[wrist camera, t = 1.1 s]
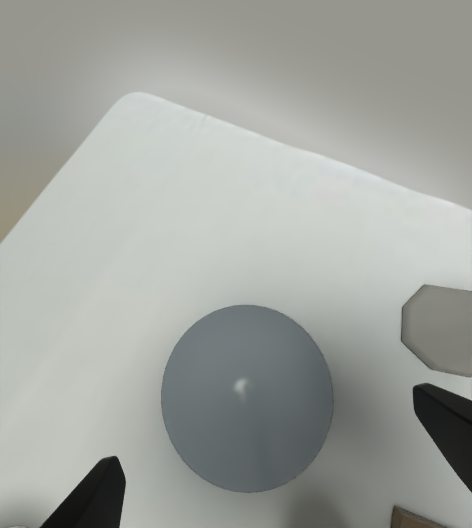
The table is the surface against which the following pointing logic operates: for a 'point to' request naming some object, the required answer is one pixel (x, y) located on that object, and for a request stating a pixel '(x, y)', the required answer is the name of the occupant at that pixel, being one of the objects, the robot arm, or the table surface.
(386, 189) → the table surface
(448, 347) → the flask
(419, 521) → the balance
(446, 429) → the robot arm
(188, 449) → the slate dish
